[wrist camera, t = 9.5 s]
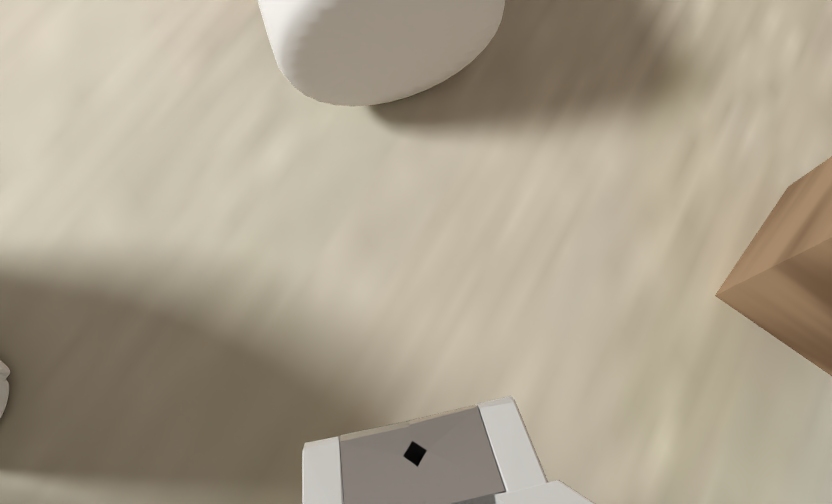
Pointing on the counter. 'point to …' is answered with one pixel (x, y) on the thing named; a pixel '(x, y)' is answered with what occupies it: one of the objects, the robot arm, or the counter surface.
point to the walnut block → (791, 270)
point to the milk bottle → (376, 44)
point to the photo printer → (3, 386)
